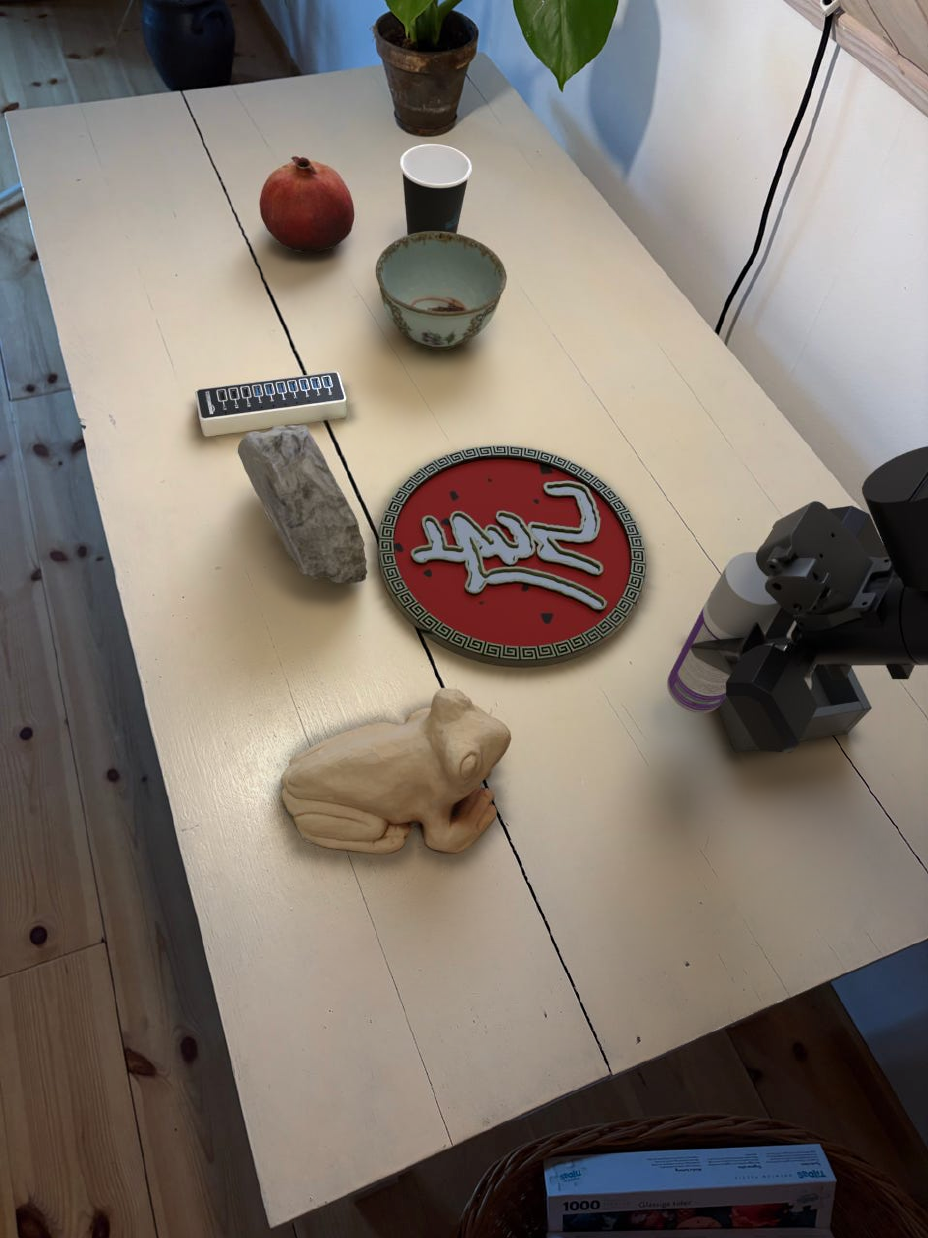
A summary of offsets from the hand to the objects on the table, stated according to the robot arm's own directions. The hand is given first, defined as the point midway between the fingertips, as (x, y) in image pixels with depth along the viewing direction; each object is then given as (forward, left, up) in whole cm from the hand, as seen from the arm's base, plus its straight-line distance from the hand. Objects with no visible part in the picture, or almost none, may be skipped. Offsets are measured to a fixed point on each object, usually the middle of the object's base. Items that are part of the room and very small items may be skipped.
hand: (707, 627), depth 70 cm
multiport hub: (+29, -39, -13) cm, 51 cm away
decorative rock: (+28, -22, -13) cm, 38 cm away
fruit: (+22, -66, -13) cm, 71 cm away
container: (-1, +1, -8) cm, 8 cm away
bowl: (+10, -49, -13) cm, 52 cm away
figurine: (+24, +3, -13) cm, 27 cm away
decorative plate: (+9, -18, -13) cm, 24 cm away
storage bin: (-10, 0, -13) cm, 17 cm away
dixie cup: (+8, -63, -13) cm, 65 cm away
